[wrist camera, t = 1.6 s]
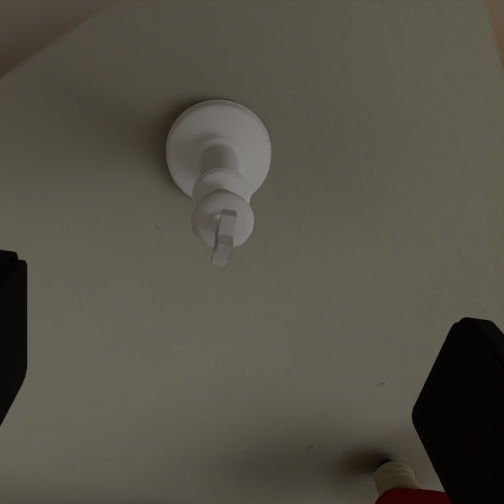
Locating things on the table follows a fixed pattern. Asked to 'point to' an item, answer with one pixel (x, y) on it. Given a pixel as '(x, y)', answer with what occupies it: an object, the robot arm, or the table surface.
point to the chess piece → (219, 170)
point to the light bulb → (403, 486)
